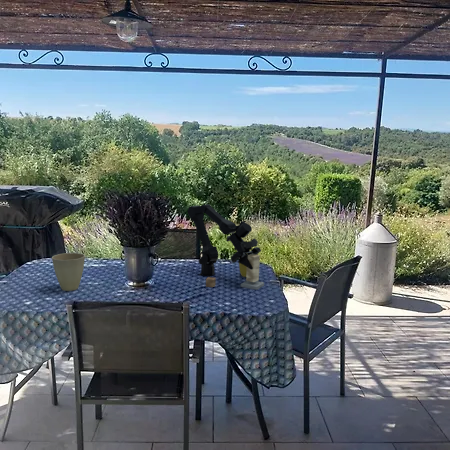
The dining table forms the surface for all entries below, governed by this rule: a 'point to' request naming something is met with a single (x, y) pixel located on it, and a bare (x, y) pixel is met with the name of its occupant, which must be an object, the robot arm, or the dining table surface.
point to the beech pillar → (254, 273)
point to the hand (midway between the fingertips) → (255, 268)
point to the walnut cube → (210, 282)
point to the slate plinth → (252, 285)
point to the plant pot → (69, 269)
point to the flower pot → (243, 270)
